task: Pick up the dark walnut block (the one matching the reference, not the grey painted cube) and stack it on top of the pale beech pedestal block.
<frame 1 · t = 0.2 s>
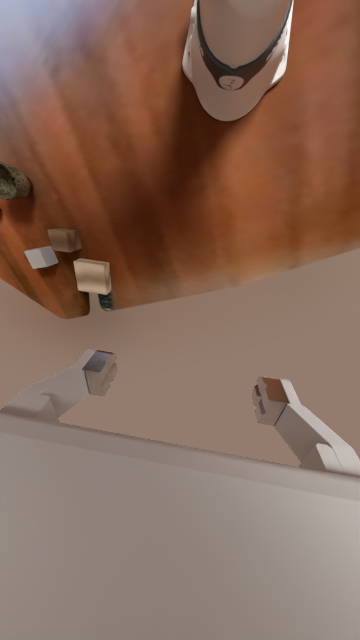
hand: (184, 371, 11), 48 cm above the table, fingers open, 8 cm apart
walnut block: (72, 238, 56), on the table
beech pedestal block: (97, 274, 61), on the table
cup: (27, 184, 51), on the table
grey painted cube: (48, 255, 60), on the table
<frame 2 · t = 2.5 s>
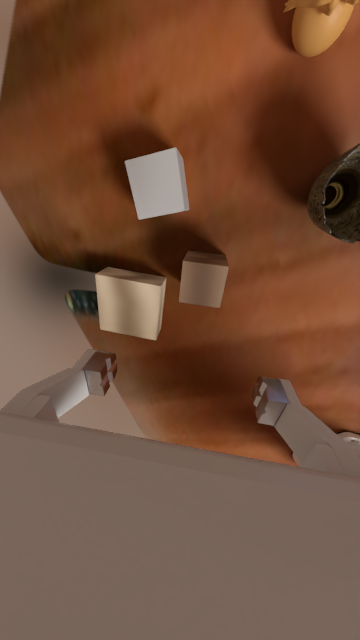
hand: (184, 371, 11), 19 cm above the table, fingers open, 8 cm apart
walnut block: (204, 270, 27), on the table
beech pedestal block: (136, 298, 31), on the table
cup: (325, 196, 22), on the table
figurine: (308, 52, 17), on the table
grey painted cube: (165, 190, 23), on the table
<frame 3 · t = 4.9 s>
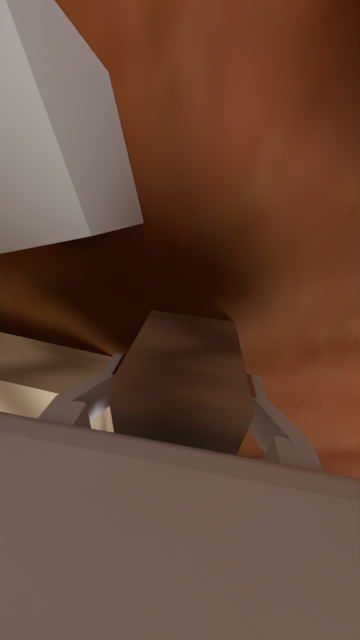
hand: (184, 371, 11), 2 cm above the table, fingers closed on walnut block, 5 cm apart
walnut block: (188, 348, 13), on the table, touching gripper
beech pedestal block: (67, 382, 17), on the table
grey painted cube: (78, 172, 9), on the table
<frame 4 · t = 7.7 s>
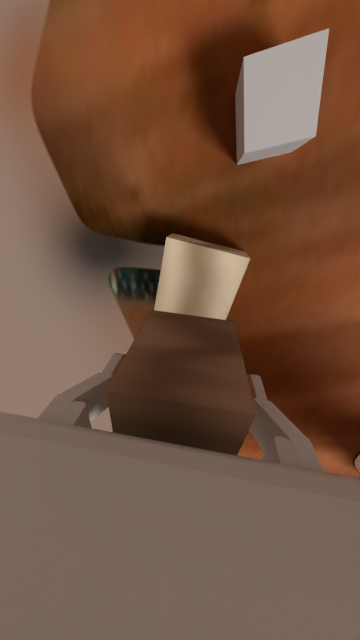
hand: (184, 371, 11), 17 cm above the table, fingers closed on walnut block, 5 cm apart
walnut block: (187, 348, 13), point 15 cm above the table, touching gripper
beech pedestal block: (198, 276, 26), on the table
grey painted cube: (264, 124, 18), on the table
when the fingers open (7 cm above the table, at t = 10.3 s): walnut block drops 1 cm, point 4 cm above the table.
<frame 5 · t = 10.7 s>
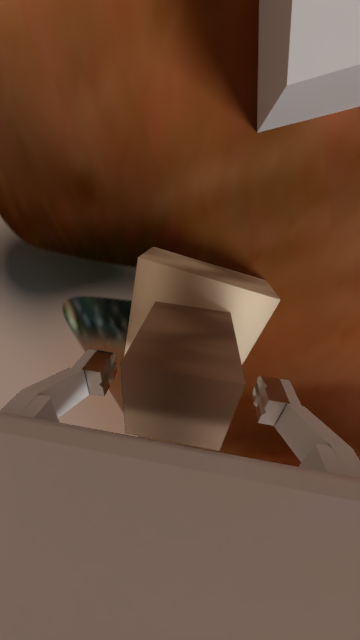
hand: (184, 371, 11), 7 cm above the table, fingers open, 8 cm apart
walnut block: (187, 337, 14), point 4 cm above the table
beech pedestal block: (193, 311, 17), on the table
grey painted cube: (312, 50, 9), on the table
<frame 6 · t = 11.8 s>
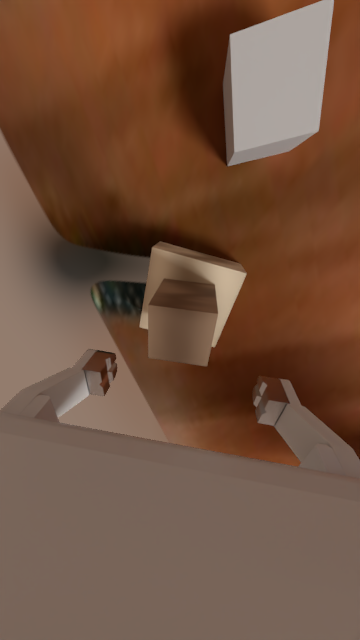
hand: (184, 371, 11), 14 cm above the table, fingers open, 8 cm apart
walnut block: (186, 304, 20), point 4 cm above the table, touching beech pedestal block
beech pedestal block: (189, 289, 24), on the table, touching walnut block
grey painted cube: (257, 119, 15), on the table
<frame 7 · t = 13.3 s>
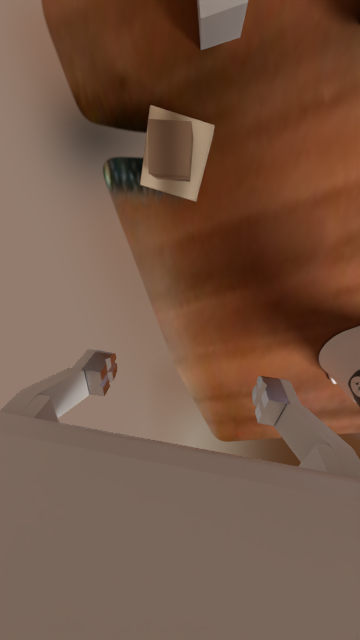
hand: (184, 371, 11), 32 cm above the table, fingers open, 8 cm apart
walnut block: (174, 159, 29), point 4 cm above the table, touching beech pedestal block
beech pedestal block: (177, 162, 32), on the table, touching walnut block
grey painted cube: (218, 13, 24), on the table
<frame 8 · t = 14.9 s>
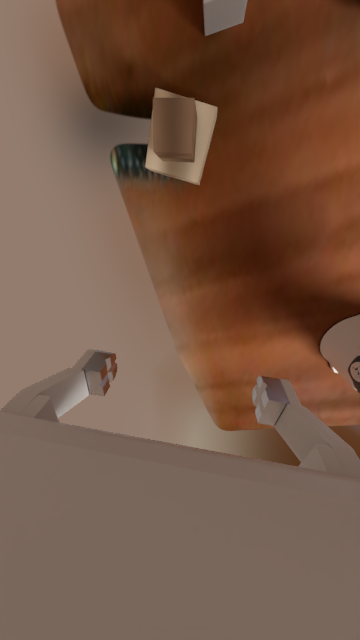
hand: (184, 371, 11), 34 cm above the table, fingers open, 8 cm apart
walnut block: (179, 140, 29), point 4 cm above the table, touching beech pedestal block
beech pedestal block: (181, 146, 33), on the table, touching walnut block
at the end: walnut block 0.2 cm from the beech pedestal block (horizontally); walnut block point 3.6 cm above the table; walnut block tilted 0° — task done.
